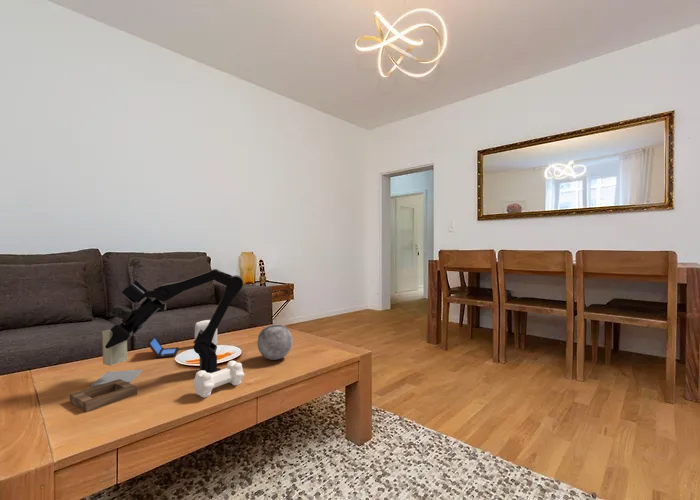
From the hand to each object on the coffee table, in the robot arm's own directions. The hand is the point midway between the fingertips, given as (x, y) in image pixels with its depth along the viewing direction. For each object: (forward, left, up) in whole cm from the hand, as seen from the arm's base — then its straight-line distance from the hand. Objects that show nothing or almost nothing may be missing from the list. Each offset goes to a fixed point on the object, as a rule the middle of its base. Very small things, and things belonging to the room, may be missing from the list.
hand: (110, 344), depth 121 cm
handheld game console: (+14, -27, -14) cm, 33 cm away
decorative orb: (-33, -49, -13) cm, 60 cm away
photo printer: (+9, -45, -13) cm, 48 cm away
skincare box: (-1, -1, -7) cm, 7 cm away
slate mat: (+1, -3, -13) cm, 14 cm away
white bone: (-39, -17, -14) cm, 44 cm away
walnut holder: (-13, +7, -13) cm, 20 cm away
